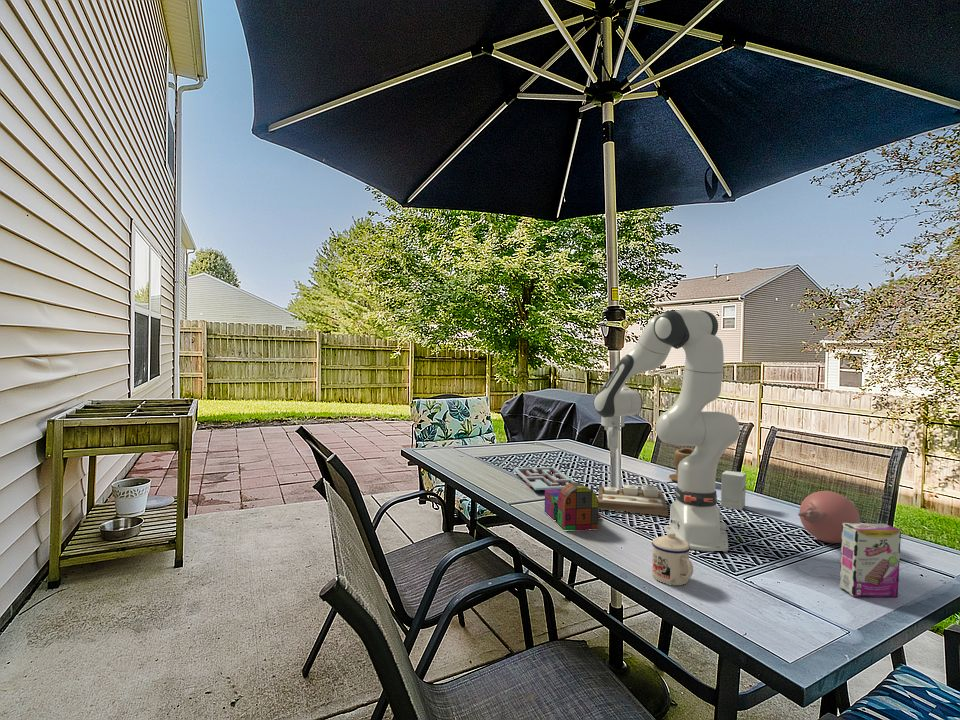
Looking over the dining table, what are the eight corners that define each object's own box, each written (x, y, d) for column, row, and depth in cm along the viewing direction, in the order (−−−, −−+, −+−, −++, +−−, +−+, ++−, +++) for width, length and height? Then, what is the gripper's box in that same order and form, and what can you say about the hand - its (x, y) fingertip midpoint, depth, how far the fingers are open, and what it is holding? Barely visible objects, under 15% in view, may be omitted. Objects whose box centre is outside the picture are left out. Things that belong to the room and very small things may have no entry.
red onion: (775, 535, 159) (776, 487, 159) (824, 530, 164) (825, 484, 164) (819, 554, 144) (821, 501, 144) (872, 548, 150) (873, 497, 149)
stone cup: (679, 485, 219) (680, 451, 219) (665, 478, 231) (666, 446, 230) (711, 484, 221) (712, 450, 221) (695, 478, 233) (696, 445, 233)
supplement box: (742, 510, 185) (742, 476, 184) (720, 506, 189) (720, 473, 189) (745, 505, 191) (746, 472, 190) (724, 502, 195) (725, 469, 195)
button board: (667, 516, 177) (668, 506, 177) (598, 510, 182) (598, 500, 182) (661, 499, 198) (661, 490, 198) (598, 493, 204) (599, 485, 204)
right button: (658, 498, 190) (658, 490, 190) (644, 497, 191) (644, 488, 191) (656, 494, 195) (657, 486, 195) (643, 493, 196) (643, 485, 196)
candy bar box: (854, 598, 118) (856, 529, 118) (838, 588, 124) (840, 522, 123) (900, 598, 119) (902, 529, 119) (882, 588, 124) (884, 522, 124)
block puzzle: (613, 529, 164) (614, 486, 163) (564, 532, 160) (564, 488, 160) (582, 506, 188) (583, 468, 188) (539, 508, 185) (540, 469, 185)
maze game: (513, 474, 236) (513, 468, 236) (553, 473, 239) (553, 466, 239) (535, 495, 201) (535, 487, 201) (581, 494, 205) (581, 486, 205)
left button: (617, 498, 194) (617, 490, 194) (603, 497, 195) (604, 489, 195) (616, 495, 199) (617, 487, 199) (603, 494, 200) (604, 486, 200)
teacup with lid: (643, 573, 130) (644, 528, 130) (672, 568, 134) (673, 525, 133) (676, 594, 119) (677, 545, 119) (706, 589, 122) (707, 541, 122)
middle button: (637, 496, 192) (637, 488, 192) (623, 495, 193) (624, 487, 193) (636, 493, 197) (636, 485, 197) (623, 492, 198) (623, 484, 198)
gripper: (622, 425, 185) (621, 462, 186) (620, 418, 205) (619, 452, 205) (604, 424, 187) (603, 461, 187) (604, 417, 207) (604, 451, 207)
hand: (612, 456), depth 196 cm, fingers closed
